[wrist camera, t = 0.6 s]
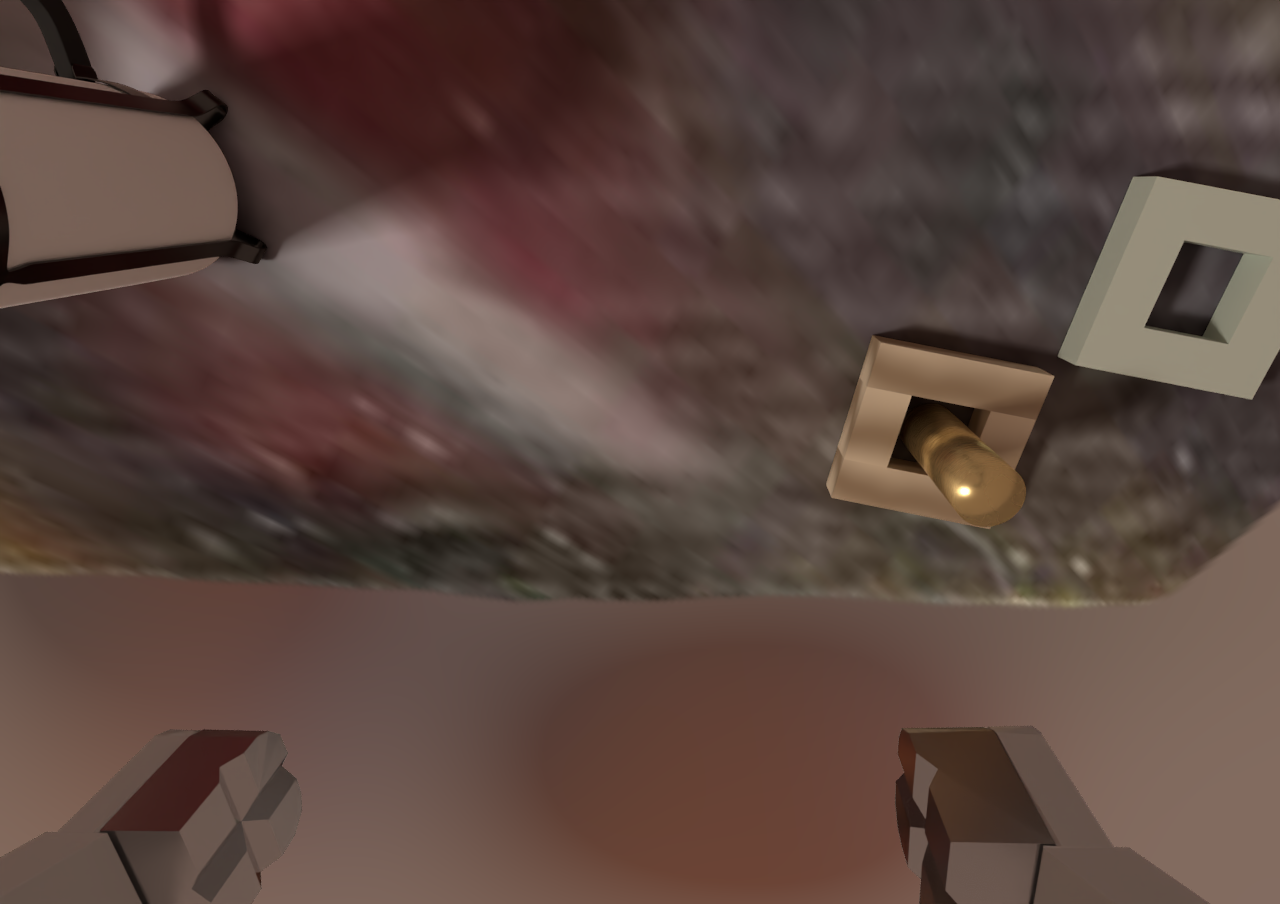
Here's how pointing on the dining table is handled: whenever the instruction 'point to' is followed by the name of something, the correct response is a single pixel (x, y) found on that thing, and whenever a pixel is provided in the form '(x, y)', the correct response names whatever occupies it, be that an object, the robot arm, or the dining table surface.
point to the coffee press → (106, 179)
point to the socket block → (1138, 267)
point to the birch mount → (910, 369)
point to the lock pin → (962, 466)
